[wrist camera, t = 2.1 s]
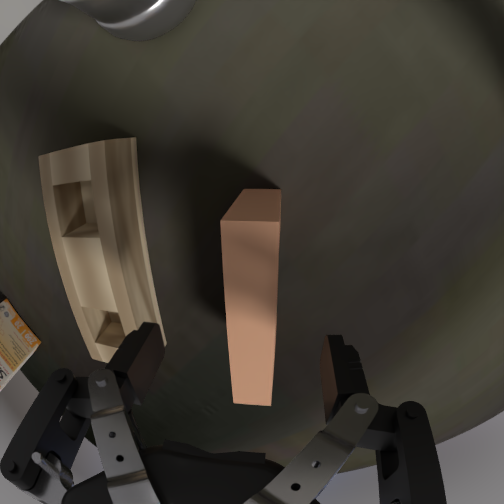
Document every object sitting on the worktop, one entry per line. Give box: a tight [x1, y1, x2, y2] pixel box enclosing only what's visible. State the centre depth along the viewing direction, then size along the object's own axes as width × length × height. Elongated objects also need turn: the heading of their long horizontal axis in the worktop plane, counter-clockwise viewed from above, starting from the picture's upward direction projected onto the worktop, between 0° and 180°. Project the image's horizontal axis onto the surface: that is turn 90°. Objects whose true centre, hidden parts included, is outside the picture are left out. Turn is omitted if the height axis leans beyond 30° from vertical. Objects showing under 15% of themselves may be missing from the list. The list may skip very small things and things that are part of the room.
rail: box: [39, 137, 166, 363], centre depth 19 cm, size 6×18×4 cm, turn 0°
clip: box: [220, 189, 281, 406], centre depth 17 cm, size 2×12×7 cm, turn 0°
